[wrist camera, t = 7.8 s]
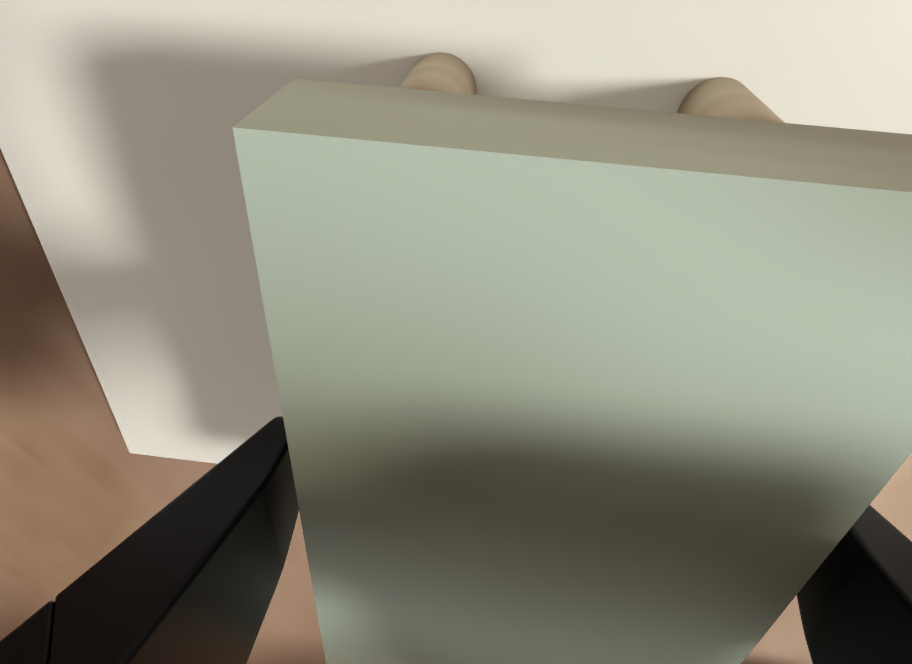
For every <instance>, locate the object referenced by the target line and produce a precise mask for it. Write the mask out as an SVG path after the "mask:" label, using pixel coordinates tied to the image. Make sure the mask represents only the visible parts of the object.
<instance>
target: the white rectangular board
mask: <svg viewBox="0 0 912 664" xmlns="http://www.w3.org/2000/svg"><path fill="white" fill-rule="evenodd" d="M438 52H444V53H449V54H452V55H454V56H457V57H458V58H460V59H461V60H462V61H464V62H465V63H466V64H467V65H468V67H469V68H470V70H471V71H472V73H473V75H474V78H475V81H476V88H477V94H476V95H484V96H495V97H506V98H517V99H528V100H539V101H550V102H561V103H572V104H583V105H594V106H605V107H616V108H627V109H638V110H649V111H660V112H671V113H677V112H678V109H679V106H680V104H681V102H682V101H683V99H684V98H685V96H686V95H687V94H688V93H689V92H690V91H691V90H692V89H693V88H694V87H696V86H697V85H699V84H700V83H702V82H704V81H706V80H709V79H713V78H718V77H727V78H732V79H735V80H737V81H739V82H741V83H742V84H743V85H744V86H745V87H746V88H748V89H749V90H750V91H751V92H752V93H753V94H754V95H755V96H756V97H757V98H759V99H760V100H761V101H762V102H763V103H764V104H765V105H766V106H767V107H768V108H770V109H771V110H772V111H773V112H774V113H775V114H776V115H777V116H778V117H779V118H781V119H782V120H783V121H784V122H785V123H792V124H803V125H814V126H825V127H836V128H847V129H858V130H869V131H880V132H891V133H902V134H912V0H0V149H1V151H2V153H3V156H4V158H5V160H6V163H7V165H8V167H9V170H10V172H11V174H12V177H13V179H14V181H15V184H16V186H17V189H18V191H19V193H20V196H21V198H22V200H23V203H24V205H25V207H26V210H27V212H28V214H29V217H30V219H31V221H32V224H33V226H34V228H35V231H36V233H37V236H38V238H39V240H40V243H41V245H42V247H43V250H44V252H45V254H46V257H47V259H48V261H49V264H50V266H51V268H52V271H53V273H54V276H55V278H56V280H57V283H58V285H59V287H60V290H61V292H62V294H63V297H64V299H65V301H66V304H67V306H68V308H69V311H70V313H71V316H72V318H73V320H74V323H75V325H76V327H77V330H78V332H79V334H80V337H81V339H82V341H83V344H84V346H85V348H86V351H87V353H88V356H89V358H90V360H91V363H92V365H93V367H94V370H95V372H96V374H97V377H98V379H99V381H100V384H101V386H102V388H103V391H104V393H105V396H106V398H107V400H108V403H109V405H110V407H111V410H112V412H113V414H114V417H115V419H116V421H117V424H118V426H119V428H120V431H121V433H122V435H123V438H124V440H125V443H126V445H127V447H128V450H129V452H130V453H134V454H142V455H151V456H159V457H167V458H175V459H184V460H192V461H200V462H209V463H217V464H218V463H219V462H221V461H222V460H223V459H224V458H225V457H227V456H228V455H229V454H230V453H232V452H233V451H234V450H235V449H236V448H238V447H239V446H240V445H241V444H243V443H244V442H245V441H246V440H247V439H249V438H250V437H251V436H252V435H254V434H255V433H256V432H257V431H258V430H260V429H261V428H262V427H263V426H265V425H266V424H267V423H268V422H269V421H271V420H272V419H273V418H275V417H278V416H283V414H282V409H281V403H280V397H279V391H278V386H277V380H276V374H275V369H274V363H273V357H272V352H271V346H270V340H269V334H268V329H267V323H266V317H265V312H264V306H263V300H262V294H261V289H260V283H259V277H258V272H257V266H256V260H255V254H254V249H253V243H252V237H251V232H250V226H249V220H248V214H247V209H246V203H245V197H244V192H243V186H242V180H241V174H240V169H239V163H238V157H237V152H236V146H235V140H234V135H233V129H232V127H233V126H235V125H236V124H237V123H239V122H240V121H241V120H242V119H244V118H245V117H246V116H247V115H249V114H250V113H251V112H253V111H254V110H255V109H256V108H258V107H259V106H260V105H261V104H263V103H264V102H265V101H267V100H268V99H269V98H270V97H272V96H273V95H274V94H275V93H277V92H278V91H279V90H281V89H282V88H283V87H284V86H286V85H287V84H288V83H289V82H291V81H292V80H293V79H295V78H297V79H308V80H319V81H330V82H341V83H352V84H363V85H374V86H385V87H396V88H400V86H401V85H402V83H403V82H404V80H405V79H406V77H407V76H408V74H409V73H410V71H411V70H412V68H413V67H414V65H415V64H416V63H417V62H418V61H419V60H420V59H422V58H423V57H425V56H427V55H429V54H432V53H438Z"/></svg>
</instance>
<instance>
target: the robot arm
mask: <svg viewBox="0 0 912 664" xmlns="http://www.w3.org/2000/svg"><path fill="white" fill-rule="evenodd" d="M298 512H299V506H298V500H297V494H296V489H295V483H294V477H293V471H292V466H291V460H290V454H289V449H288V443H287V437H286V431H285V426H284V420H283V416H278V417H275V418H273V419H272V420H271V421H269V422H268V423H267V424H266V425H265V426H263V427H262V428H261V429H260V430H258V431H257V432H256V433H255V434H254V435H252V436H251V437H250V438H249V439H247V440H246V441H245V442H244V443H243V444H241V445H240V446H239V447H238V448H236V449H235V450H234V451H233V452H232V453H230V454H229V455H228V456H227V457H225V458H224V459H223V460H222V461H221V462H219V463H218V464H217V465H216V466H214V467H213V468H212V469H211V470H210V471H208V472H207V473H206V474H205V475H203V476H202V477H201V478H200V479H199V480H197V481H196V482H195V483H194V484H192V485H191V486H190V487H189V488H188V489H186V490H185V491H184V492H183V493H181V494H180V495H179V496H178V497H177V498H175V499H174V500H173V501H172V502H170V503H169V504H168V505H167V506H166V507H164V508H163V509H162V510H161V511H160V512H158V513H157V514H156V515H155V516H153V517H152V518H151V519H150V520H149V521H147V522H146V523H145V524H144V525H142V526H141V527H140V528H139V529H138V530H136V531H135V532H134V533H133V534H131V535H130V536H129V537H128V538H127V539H125V540H124V541H123V542H122V543H120V544H119V545H118V546H117V547H116V548H114V549H113V550H112V551H111V552H109V553H108V554H107V555H106V556H105V557H103V558H102V559H101V560H100V561H98V562H97V563H96V564H95V565H94V566H92V567H91V568H90V569H89V570H87V571H86V572H85V573H84V574H83V575H81V576H80V577H79V578H78V579H76V580H75V581H74V582H73V583H72V584H70V585H69V586H68V587H67V588H65V589H64V590H63V591H62V592H61V593H59V594H58V595H57V596H56V599H55V602H54V601H50V602H48V603H47V604H46V605H44V606H43V607H42V608H41V609H39V610H38V611H37V612H36V613H35V614H33V615H32V616H31V617H30V618H29V619H27V620H26V621H25V622H24V623H22V624H21V625H20V626H19V627H17V628H16V629H15V630H14V631H12V632H11V633H10V634H9V635H7V636H6V637H5V638H4V639H2V640H1V641H0V664H246V663H247V660H248V658H249V655H250V653H251V650H252V648H253V645H254V642H255V640H256V637H257V635H258V632H259V630H260V627H261V625H262V622H263V619H264V617H265V614H266V612H267V609H268V607H269V604H270V602H271V599H272V596H273V594H274V591H275V589H276V586H277V584H278V581H279V578H280V575H281V572H282V570H283V567H284V563H285V560H286V556H287V553H288V549H289V545H290V542H291V538H292V534H293V530H294V527H295V523H296V519H297V515H298ZM797 599H798V605H799V610H800V615H801V620H802V625H803V629H804V634H805V637H806V641H807V645H808V648H809V652H810V655H811V659H812V662H813V664H912V542H911V541H910V540H909V539H908V538H907V537H906V536H905V535H904V534H902V533H901V532H900V531H899V530H898V529H897V528H896V527H894V526H893V525H892V524H891V523H890V522H889V521H888V520H886V519H885V518H884V517H883V516H882V515H881V514H880V513H878V512H877V511H876V510H875V509H874V508H873V507H872V506H871V505H869V506H868V507H867V508H866V510H865V511H864V512H863V513H862V514H861V516H860V517H859V518H858V519H857V521H856V522H855V523H854V524H853V526H852V527H851V528H850V529H849V531H848V532H847V533H846V534H845V536H844V537H843V538H842V539H841V540H840V542H839V543H838V544H837V545H836V547H835V548H834V549H833V550H832V552H831V553H830V554H829V555H828V557H827V558H826V559H825V560H824V561H823V563H822V564H821V565H820V566H819V568H818V569H817V570H816V571H815V573H814V574H813V575H812V576H811V578H810V579H809V580H808V581H807V583H806V584H805V585H804V586H803V587H802V589H801V590H800V591H799V592H798V594H797Z"/></svg>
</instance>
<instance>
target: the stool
mask: <svg viewBox="0 0 912 664" xmlns="http://www.w3.org/2000/svg"><path fill="white" fill-rule="evenodd" d="M476 94H477V88H476V81H475V78H474V75H473V73H472V71H471V70H470V68H469V67H468V65H467V64H466V63H465V62H464V61H462V60H461V59H460V58H458V57H457V56H454V55H452V54H449V53H444V52H438V53H432V54H429V55H427V56H425V57H423V58H422V59H420V60H419V61H418V62H417V63H416V64H415V65H414V67H413V68H412V70H411V71H410V73H409V74H408V76H407V77H406V79H405V80H404V82H403V83H402V85H401V86H400V88H396V87H385V86H374V85H363V84H352V83H341V82H330V81H319V80H308V79H297V78H295V79H293V80H292V81H291V82H289V83H288V84H287V85H286V86H284V87H283V88H282V89H281V90H279V91H278V92H277V93H275V94H274V95H273V96H272V97H270V98H269V99H268V100H267V101H265V102H264V103H263V104H261V105H260V106H259V107H258V108H256V109H255V110H254V111H253V112H251V113H250V114H249V115H247V116H246V117H245V118H244V119H242V120H241V121H240V122H239V123H237V124H236V125H235V126H233V127H232V129H233V135H234V140H235V146H236V152H237V157H238V163H239V169H240V174H241V180H242V186H243V192H244V197H245V203H246V209H247V214H248V220H249V226H250V232H251V237H252V243H253V249H254V254H255V260H256V266H257V272H258V277H259V283H260V289H261V294H262V300H263V306H264V312H265V317H266V323H267V329H268V334H269V340H270V346H271V352H272V357H273V363H274V369H275V374H276V380H277V386H278V391H279V397H280V403H281V409H282V414H283V420H284V426H285V431H286V437H287V443H288V449H289V454H290V460H291V466H292V471H293V477H294V483H295V489H296V494H297V500H298V506H299V511H300V517H301V523H302V529H303V534H304V540H305V546H306V551H307V557H308V563H309V568H310V574H311V580H312V586H313V591H314V597H315V603H316V608H317V614H318V620H319V626H320V631H321V637H322V643H323V648H324V654H325V660H326V664H741V663H742V662H743V660H744V659H745V658H746V657H747V656H748V654H749V653H750V652H751V651H752V649H753V648H754V647H755V646H756V644H757V643H758V642H759V641H760V639H761V638H762V637H763V636H764V634H765V633H766V632H767V631H768V630H769V628H770V627H771V626H772V625H773V623H774V622H775V621H776V620H777V618H778V617H779V616H780V615H781V613H782V612H783V611H784V610H785V608H786V607H787V606H788V605H789V604H790V602H791V601H792V600H793V599H794V597H795V596H796V595H797V594H798V592H799V591H800V590H801V589H802V587H803V586H804V585H805V584H806V583H807V581H808V580H809V579H810V578H811V576H812V575H813V574H814V573H815V571H816V570H817V569H818V568H819V566H820V565H821V564H822V563H823V561H824V560H825V559H826V558H827V557H828V555H829V554H830V553H831V552H832V550H833V549H834V548H835V547H836V545H837V544H838V543H839V542H840V540H841V539H842V538H843V537H844V536H845V534H846V533H847V532H848V531H849V529H850V528H851V527H852V526H853V524H854V523H855V522H856V521H857V519H858V518H859V517H860V516H861V514H862V513H863V512H864V511H865V510H866V508H867V507H868V506H869V505H870V503H871V502H872V501H873V500H874V498H875V497H876V496H877V495H878V493H879V492H880V491H881V490H882V488H883V487H884V486H885V485H886V484H887V482H888V481H889V480H890V479H891V477H892V476H893V475H894V474H895V472H896V471H897V470H898V469H899V467H900V466H901V465H902V464H903V463H904V461H905V460H906V459H907V458H908V456H909V455H910V454H911V453H912V134H902V133H891V132H880V131H869V130H858V129H847V128H836V127H825V126H814V125H803V124H792V123H785V122H784V121H783V120H782V119H781V118H779V117H778V116H777V115H776V114H775V113H774V112H773V111H772V110H771V109H770V108H768V107H767V106H766V105H765V104H764V103H763V102H762V101H761V100H760V99H759V98H757V97H756V96H755V95H754V94H753V93H752V92H751V91H750V90H749V89H748V88H746V87H745V86H744V85H743V84H742V83H741V82H739V81H737V80H735V79H732V78H727V77H718V78H713V79H709V80H706V81H704V82H702V83H700V84H699V85H697V86H696V87H694V88H693V89H692V90H691V91H690V92H689V93H688V94H687V95H686V96H685V98H684V99H683V101H682V102H681V104H680V106H679V109H678V112H677V113H671V112H660V111H649V110H638V109H627V108H616V107H605V106H594V105H583V104H572V103H561V102H550V101H539V100H528V99H517V98H506V97H495V96H484V95H476Z"/></svg>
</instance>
